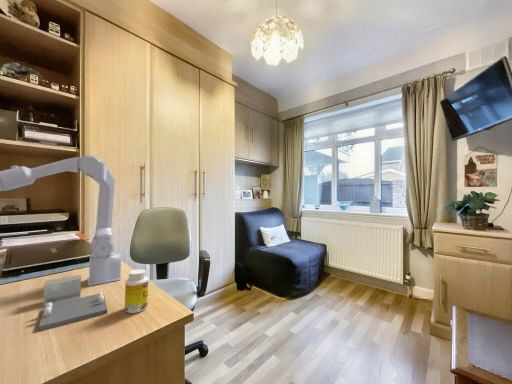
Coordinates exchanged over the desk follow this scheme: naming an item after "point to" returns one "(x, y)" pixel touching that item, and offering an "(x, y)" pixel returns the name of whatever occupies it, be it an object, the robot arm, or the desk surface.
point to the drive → (62, 289)
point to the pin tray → (72, 310)
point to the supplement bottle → (136, 291)
